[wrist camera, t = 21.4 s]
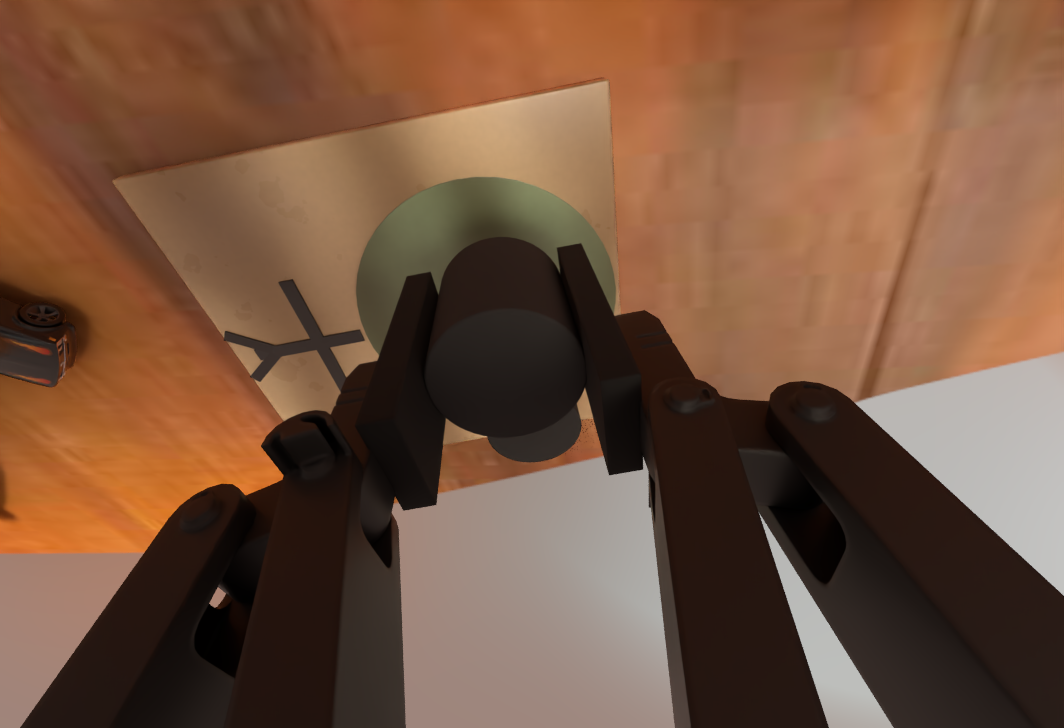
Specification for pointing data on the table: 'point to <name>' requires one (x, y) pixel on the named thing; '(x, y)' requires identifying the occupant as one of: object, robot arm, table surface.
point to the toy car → (35, 342)
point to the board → (376, 226)
